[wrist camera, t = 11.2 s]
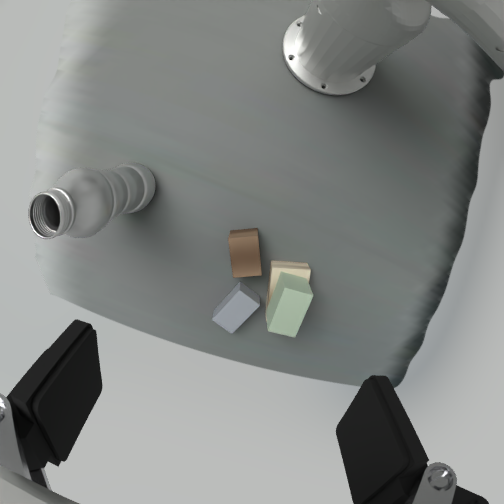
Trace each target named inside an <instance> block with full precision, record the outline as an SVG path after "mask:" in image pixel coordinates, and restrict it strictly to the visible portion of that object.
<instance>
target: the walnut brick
mask: <svg viewBox="0 0 504 504" xmlns="http://www.w3.org/2000/svg"><path fill="white" fill-rule="evenodd" d="M228 241H229V249H230V257H231V265H232V272H233V278H236V277H247V276H258V275H262V273H261V261H260V250H259V240H258V229H257V228H253V229H242V230H232V231H230V234H229V238H228Z"/></svg>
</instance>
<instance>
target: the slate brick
mask: <svg viewBox="0 0 504 504" xmlns="http://www.w3.org/2000/svg"><path fill="white" fill-rule="evenodd" d="M259 306H260V296H259V295H258V294H256V293H255V292H254V291H252V290H251V289H250V288H248V287H247V286H246V285H244V284H243V283H242V282H241V281H240V282H239V283H238V284H237V286H236V287H235V288H234V289H233V290H232V291H231V292H230V293H229V294H228V295H227V296H226V298H225V299H224V300H223V301H222V302H221V303H220V304H219V305H218V306H217V307H216V308H215V310H214V313H213V317H212V320H213V321H214V322H216V323H217V324H218V325H220V326H221V327H223V328H224V329H226V330H227V331H229V332H230V333H231V334H232V333H233V332H234V331H235V330H236V329H237V328H238V327H239V326H240V325H241V324H242V323H243V322H244V321H245V320H246V319H247V318H248V317H249V316H250V315H251V314H252V313H253V312H254V311H255V310H256V309H257V308H258V307H259Z"/></svg>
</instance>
